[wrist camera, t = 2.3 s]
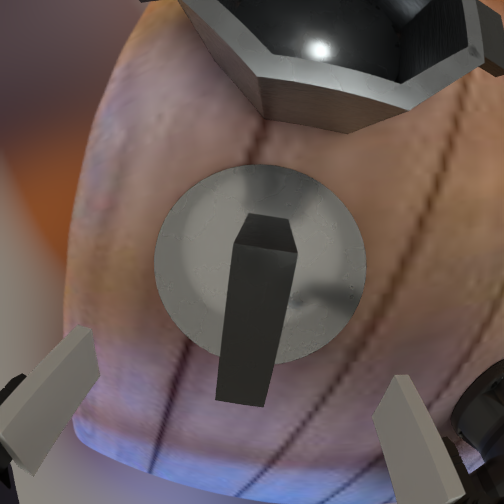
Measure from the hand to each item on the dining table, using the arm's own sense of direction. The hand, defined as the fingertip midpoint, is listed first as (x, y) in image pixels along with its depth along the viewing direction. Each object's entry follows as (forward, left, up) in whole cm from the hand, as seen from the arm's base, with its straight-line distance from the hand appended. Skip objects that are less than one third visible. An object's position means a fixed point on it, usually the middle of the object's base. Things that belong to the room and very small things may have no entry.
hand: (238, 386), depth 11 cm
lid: (0, 0, -16) cm, 16 cm away
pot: (+21, -2, -16) cm, 26 cm away
